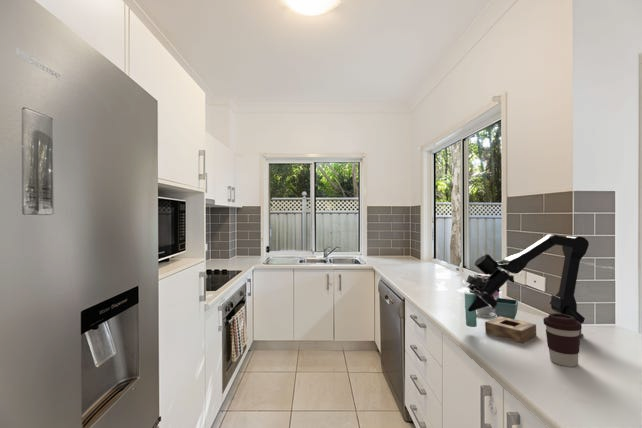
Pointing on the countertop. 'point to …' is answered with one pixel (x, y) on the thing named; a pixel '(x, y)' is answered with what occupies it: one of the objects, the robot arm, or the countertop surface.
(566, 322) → the coffee cup
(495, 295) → the candy bar box
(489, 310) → the teacup
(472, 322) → the dowel
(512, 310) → the flower pot
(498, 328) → the brown wooden box
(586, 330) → the countertop surface
